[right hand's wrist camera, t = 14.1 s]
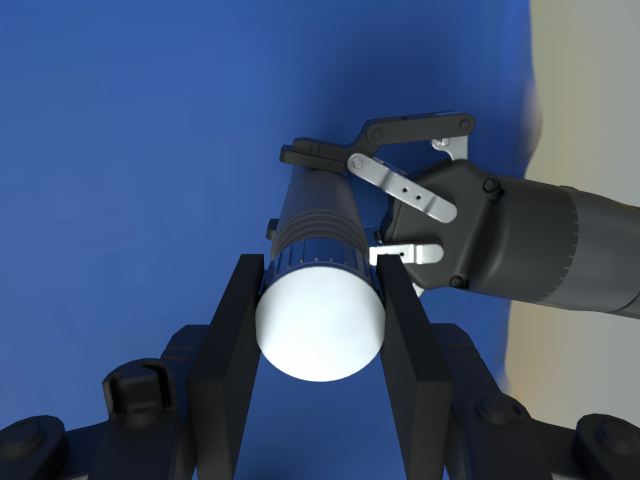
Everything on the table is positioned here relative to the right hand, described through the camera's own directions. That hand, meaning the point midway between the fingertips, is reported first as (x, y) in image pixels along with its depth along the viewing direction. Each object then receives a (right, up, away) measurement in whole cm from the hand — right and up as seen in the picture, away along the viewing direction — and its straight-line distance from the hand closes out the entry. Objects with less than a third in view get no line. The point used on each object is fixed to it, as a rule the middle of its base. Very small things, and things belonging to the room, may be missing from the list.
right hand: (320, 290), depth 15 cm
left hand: (-3, +5, +11) cm, 12 cm away
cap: (0, -1, -2) cm, 2 cm away
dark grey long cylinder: (0, +6, +17) cm, 18 cm away
